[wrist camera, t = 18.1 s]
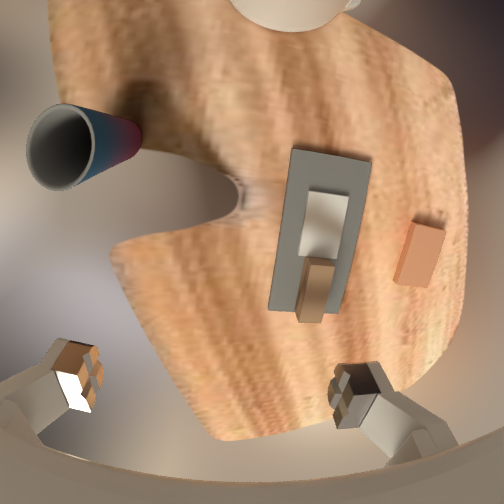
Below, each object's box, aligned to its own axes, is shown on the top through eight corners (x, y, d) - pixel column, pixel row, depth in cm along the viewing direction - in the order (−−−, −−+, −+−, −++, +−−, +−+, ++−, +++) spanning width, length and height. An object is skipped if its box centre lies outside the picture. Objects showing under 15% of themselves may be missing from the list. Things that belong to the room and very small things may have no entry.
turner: (322, 310, 42) (328, 323, 39) (287, 308, 41) (290, 322, 38) (347, 195, 36) (356, 201, 33) (308, 190, 35) (314, 195, 32)
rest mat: (291, 148, 34) (292, 148, 33) (369, 162, 35) (371, 162, 34) (267, 307, 42) (268, 310, 41) (336, 310, 43) (338, 313, 42)
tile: (391, 278, 42) (409, 220, 39) (421, 282, 42) (439, 227, 39) (396, 284, 40) (416, 224, 37) (427, 287, 41) (446, 231, 38)
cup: (102, 110, 31) (31, 103, 17) (154, 115, 32) (102, 104, 18) (94, 164, 33) (23, 186, 19) (144, 171, 34) (90, 196, 20)
